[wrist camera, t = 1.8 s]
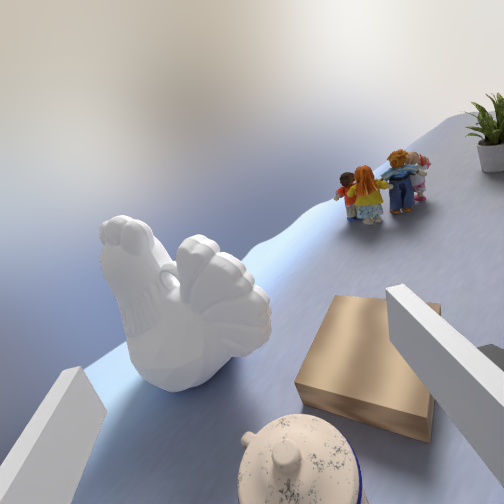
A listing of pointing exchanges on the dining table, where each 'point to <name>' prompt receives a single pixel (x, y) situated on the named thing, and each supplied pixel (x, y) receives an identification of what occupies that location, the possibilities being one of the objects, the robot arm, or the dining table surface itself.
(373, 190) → the doll family
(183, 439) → the dining table surface
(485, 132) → the house plant
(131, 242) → the decorative rooster
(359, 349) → the oak slab
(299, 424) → the teacup with lid
